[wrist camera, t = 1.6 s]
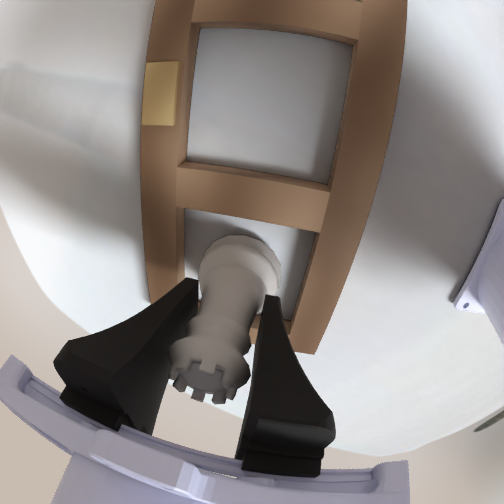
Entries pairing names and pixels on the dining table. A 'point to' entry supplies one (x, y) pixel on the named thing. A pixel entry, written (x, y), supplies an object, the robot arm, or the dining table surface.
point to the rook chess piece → (224, 318)
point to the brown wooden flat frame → (259, 183)
